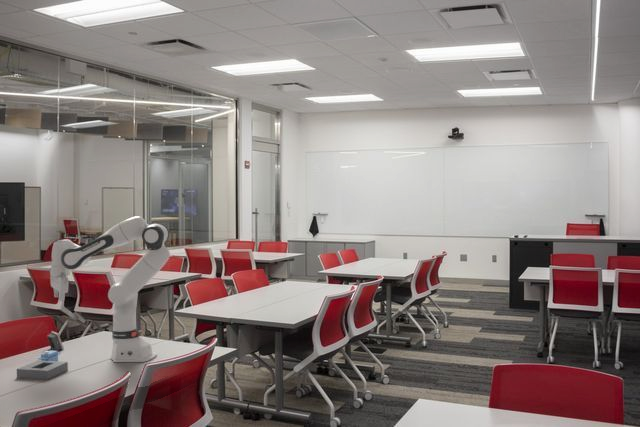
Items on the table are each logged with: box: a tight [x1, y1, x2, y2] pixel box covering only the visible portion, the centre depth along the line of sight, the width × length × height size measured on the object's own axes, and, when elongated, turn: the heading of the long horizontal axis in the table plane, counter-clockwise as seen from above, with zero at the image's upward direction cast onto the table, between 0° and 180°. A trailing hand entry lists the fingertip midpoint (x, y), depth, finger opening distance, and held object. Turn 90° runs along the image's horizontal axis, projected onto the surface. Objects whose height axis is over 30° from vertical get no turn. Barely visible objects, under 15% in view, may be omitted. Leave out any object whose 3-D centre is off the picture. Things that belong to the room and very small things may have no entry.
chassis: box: [16, 359, 69, 381], centre depth 269 cm, size 16×14×4 cm
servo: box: [37, 350, 61, 361], centre depth 284 cm, size 4×11×7 cm, turn 168°
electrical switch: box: [46, 330, 65, 351], centre depth 313 cm, size 9×5×9 cm, turn 44°
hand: (58, 298), depth 292 cm, fingers open, 8 cm apart
